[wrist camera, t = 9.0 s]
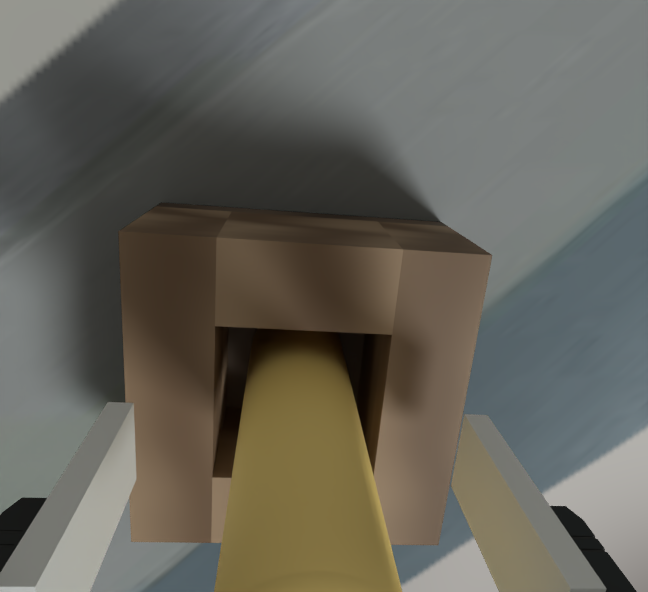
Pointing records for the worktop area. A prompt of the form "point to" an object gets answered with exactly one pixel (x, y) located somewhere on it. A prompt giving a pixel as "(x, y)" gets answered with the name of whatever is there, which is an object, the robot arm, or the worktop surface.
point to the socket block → (293, 314)
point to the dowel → (302, 477)
